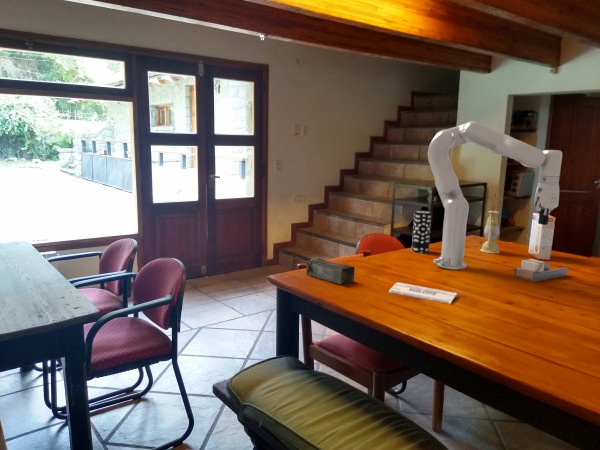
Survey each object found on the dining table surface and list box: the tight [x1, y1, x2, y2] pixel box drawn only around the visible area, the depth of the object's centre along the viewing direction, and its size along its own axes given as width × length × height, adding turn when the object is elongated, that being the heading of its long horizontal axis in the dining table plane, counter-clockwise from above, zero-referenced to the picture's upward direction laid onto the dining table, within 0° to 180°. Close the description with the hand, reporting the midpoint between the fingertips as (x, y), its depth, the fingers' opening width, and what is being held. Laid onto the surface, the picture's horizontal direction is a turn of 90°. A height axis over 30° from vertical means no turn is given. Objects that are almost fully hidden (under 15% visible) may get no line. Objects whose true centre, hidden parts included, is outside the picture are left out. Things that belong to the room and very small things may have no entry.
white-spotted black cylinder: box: [411, 210, 432, 254], centre depth 228 cm, size 8×8×20 cm
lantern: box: [479, 193, 500, 255], centre depth 230 cm, size 12×10×30 cm
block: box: [520, 258, 545, 273], centre depth 186 cm, size 6×6×6 cm
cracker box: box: [527, 212, 556, 261], centre depth 222 cm, size 14×6×21 cm, turn 171°
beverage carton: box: [306, 257, 356, 285], centre depth 179 cm, size 8×19×7 cm, turn 45°
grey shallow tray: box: [513, 262, 569, 283], centre depth 189 cm, size 22×9×3 cm, turn 119°
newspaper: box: [388, 281, 458, 305], centre depth 163 cm, size 23×12×2 cm, turn 59°
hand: (542, 224), depth 190 cm, fingers closed
